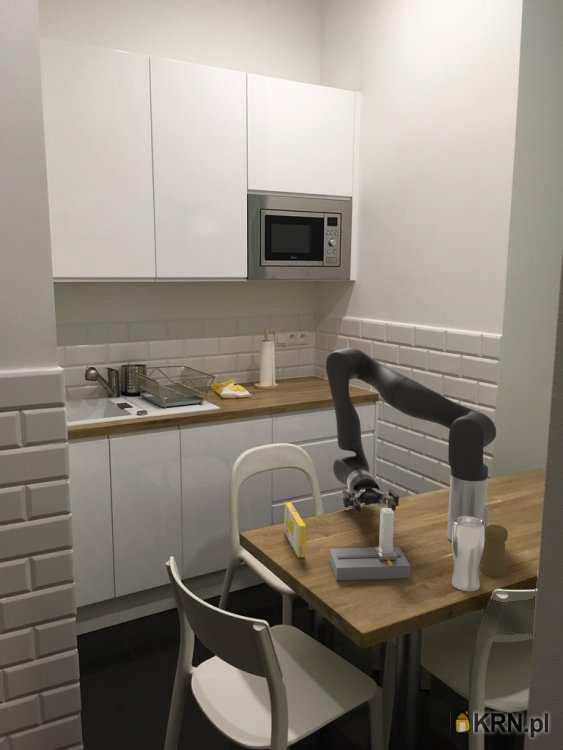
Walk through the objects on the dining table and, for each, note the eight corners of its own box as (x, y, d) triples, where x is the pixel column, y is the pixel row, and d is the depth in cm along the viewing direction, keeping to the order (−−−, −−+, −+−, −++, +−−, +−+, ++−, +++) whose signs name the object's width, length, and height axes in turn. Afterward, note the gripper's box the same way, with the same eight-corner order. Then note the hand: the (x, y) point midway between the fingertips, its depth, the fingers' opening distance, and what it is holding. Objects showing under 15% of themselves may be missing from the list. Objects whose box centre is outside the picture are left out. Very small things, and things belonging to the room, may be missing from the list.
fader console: (398, 558, 156) (399, 545, 155) (410, 577, 146) (410, 564, 145) (329, 560, 154) (329, 547, 154) (336, 580, 144) (336, 567, 144)
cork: (508, 578, 146) (512, 533, 144) (481, 575, 147) (484, 530, 145) (505, 566, 152) (508, 522, 150) (478, 564, 153) (481, 520, 151)
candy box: (306, 557, 156) (306, 525, 154) (297, 558, 155) (298, 526, 154) (291, 531, 171) (291, 501, 170) (283, 531, 171) (283, 502, 170)
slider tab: (391, 550, 152) (392, 506, 150) (396, 559, 147) (398, 514, 146) (374, 550, 152) (376, 506, 150) (379, 560, 147) (381, 515, 145)
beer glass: (476, 595, 138) (481, 530, 135) (445, 587, 142) (448, 523, 139) (485, 582, 144) (489, 519, 141) (454, 574, 147) (458, 513, 145)
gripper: (337, 474, 174) (348, 495, 158) (388, 473, 175) (404, 493, 159) (336, 500, 175) (347, 523, 159) (387, 499, 176) (403, 522, 160)
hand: (376, 508), depth 159 cm, fingers open, 8 cm apart
